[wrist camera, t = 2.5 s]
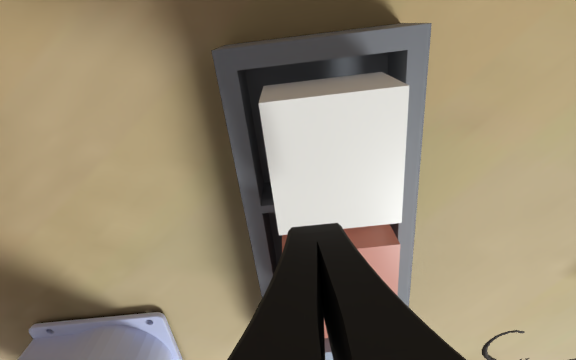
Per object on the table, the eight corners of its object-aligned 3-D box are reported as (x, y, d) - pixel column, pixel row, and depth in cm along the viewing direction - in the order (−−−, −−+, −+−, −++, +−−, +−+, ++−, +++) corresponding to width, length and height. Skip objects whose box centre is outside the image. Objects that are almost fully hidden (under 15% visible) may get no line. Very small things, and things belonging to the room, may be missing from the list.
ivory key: (279, 196, 15) (278, 235, 12) (263, 85, 12) (258, 103, 10) (379, 185, 14) (401, 222, 12) (381, 71, 12) (409, 85, 10)
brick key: (293, 291, 17) (295, 341, 15) (281, 214, 15) (282, 256, 12) (377, 283, 17) (395, 332, 14) (378, 204, 15) (400, 244, 12)
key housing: (279, 337, 23) (279, 381, 20) (225, 45, 14) (211, 50, 12) (388, 327, 23) (403, 370, 20) (401, 23, 14) (431, 23, 11)
